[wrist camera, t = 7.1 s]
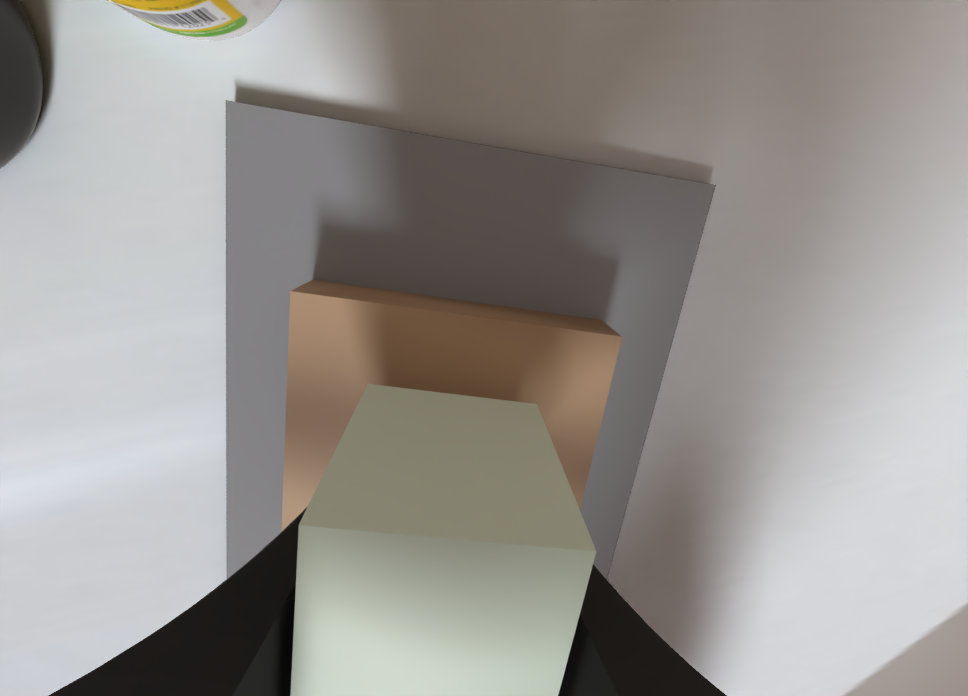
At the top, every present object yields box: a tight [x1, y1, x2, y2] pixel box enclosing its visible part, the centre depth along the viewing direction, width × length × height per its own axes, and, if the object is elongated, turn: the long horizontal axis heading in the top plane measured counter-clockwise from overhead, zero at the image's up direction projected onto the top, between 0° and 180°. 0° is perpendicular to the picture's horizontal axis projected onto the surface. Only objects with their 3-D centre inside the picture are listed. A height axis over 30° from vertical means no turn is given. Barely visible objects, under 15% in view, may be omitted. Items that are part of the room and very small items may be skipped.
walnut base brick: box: [281, 280, 622, 532], centre depth 15 cm, size 9×9×2 cm
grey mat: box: [226, 100, 716, 580], centre depth 16 cm, size 18×14×1 cm
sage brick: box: [290, 384, 596, 696], centre depth 10 cm, size 6×4×5 cm, turn 171°
